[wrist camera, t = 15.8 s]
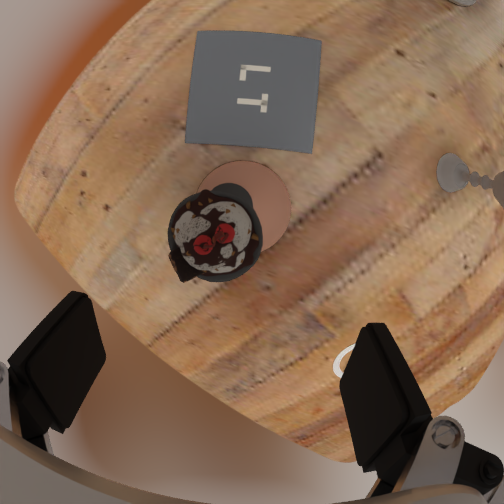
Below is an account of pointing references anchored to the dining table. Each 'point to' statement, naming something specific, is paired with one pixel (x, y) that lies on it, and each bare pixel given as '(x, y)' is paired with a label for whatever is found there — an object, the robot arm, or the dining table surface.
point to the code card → (254, 90)
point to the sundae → (215, 234)
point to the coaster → (257, 195)
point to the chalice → (466, 177)
